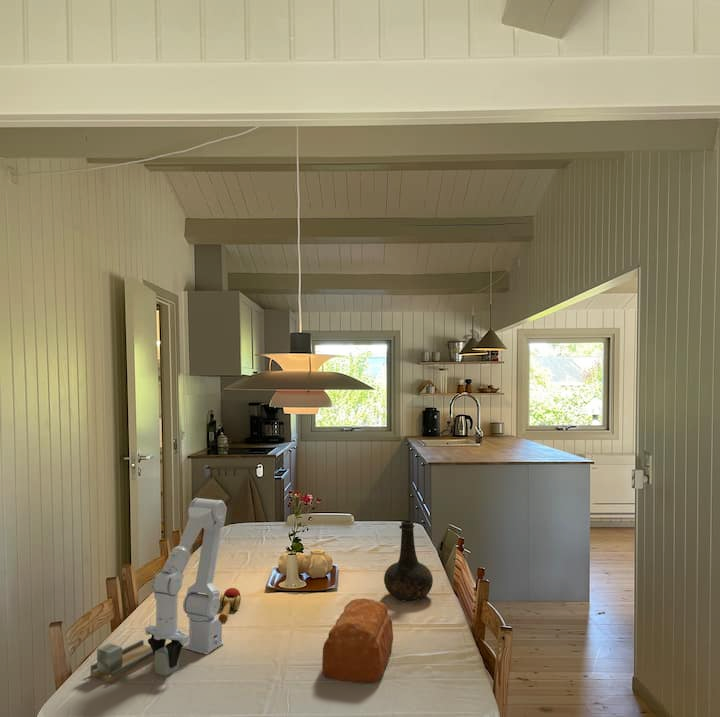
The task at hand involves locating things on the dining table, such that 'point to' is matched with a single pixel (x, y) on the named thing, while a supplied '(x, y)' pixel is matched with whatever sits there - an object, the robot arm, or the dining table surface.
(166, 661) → the block
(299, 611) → the dining table surface
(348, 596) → the dining table surface
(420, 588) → the glass bottle
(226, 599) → the kendama
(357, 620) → the bread
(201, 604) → the robot arm
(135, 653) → the jaw track
